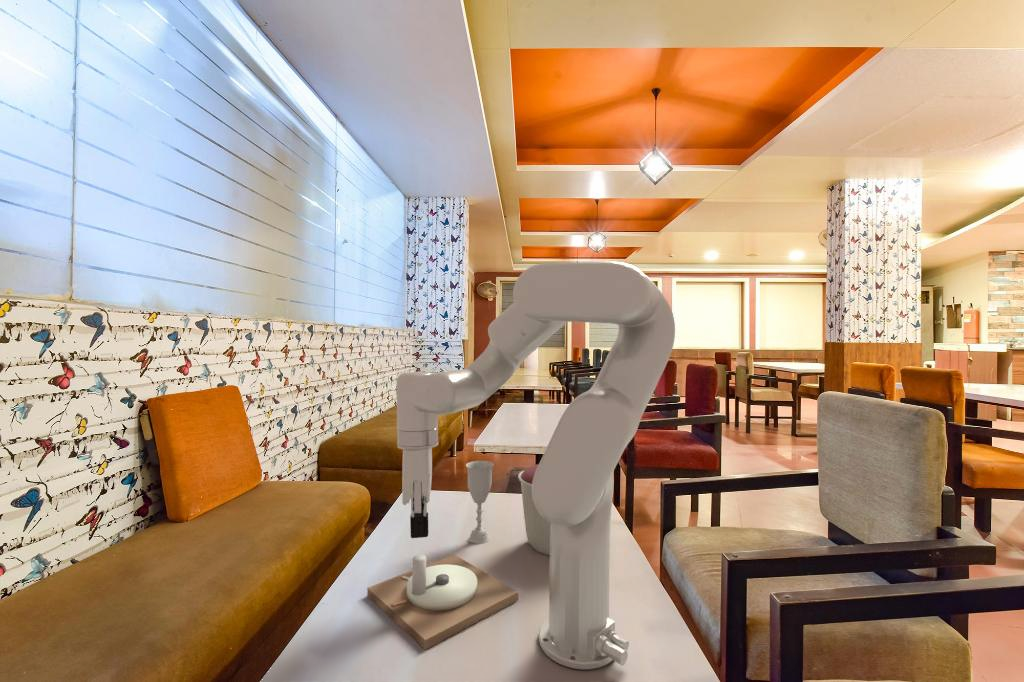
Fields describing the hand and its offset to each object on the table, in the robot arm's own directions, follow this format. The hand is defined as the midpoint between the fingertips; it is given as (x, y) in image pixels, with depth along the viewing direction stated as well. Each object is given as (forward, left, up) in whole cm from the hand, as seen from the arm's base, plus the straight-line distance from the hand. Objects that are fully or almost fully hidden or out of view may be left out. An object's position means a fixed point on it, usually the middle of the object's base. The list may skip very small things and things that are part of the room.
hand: (419, 535), depth 85 cm
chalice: (+12, -24, -12) cm, 29 cm away
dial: (-3, -3, -10) cm, 11 cm away
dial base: (-3, -3, -12) cm, 12 cm away
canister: (-3, -35, -12) cm, 37 cm away
